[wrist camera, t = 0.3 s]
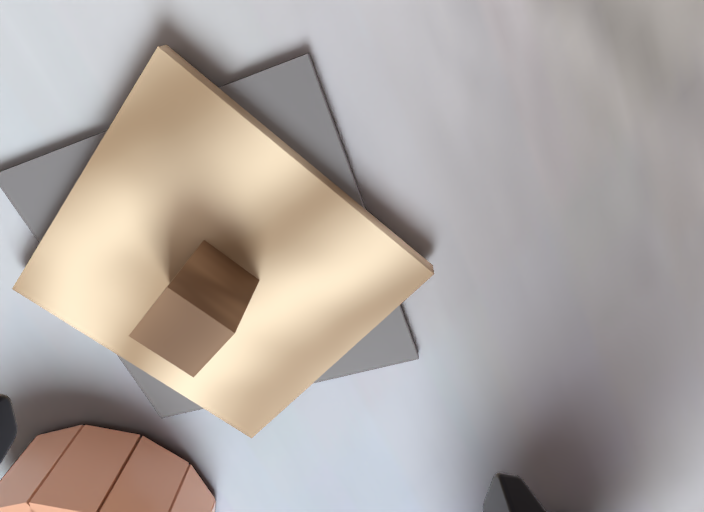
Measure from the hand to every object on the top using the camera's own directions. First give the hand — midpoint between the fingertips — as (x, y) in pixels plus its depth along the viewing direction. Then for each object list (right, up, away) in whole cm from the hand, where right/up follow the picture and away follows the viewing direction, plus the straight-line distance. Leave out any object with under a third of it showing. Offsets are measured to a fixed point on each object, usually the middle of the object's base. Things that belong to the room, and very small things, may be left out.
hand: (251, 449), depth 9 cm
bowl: (-13, -12, +23) cm, 29 cm away
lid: (-4, +3, +14) cm, 15 cm away
